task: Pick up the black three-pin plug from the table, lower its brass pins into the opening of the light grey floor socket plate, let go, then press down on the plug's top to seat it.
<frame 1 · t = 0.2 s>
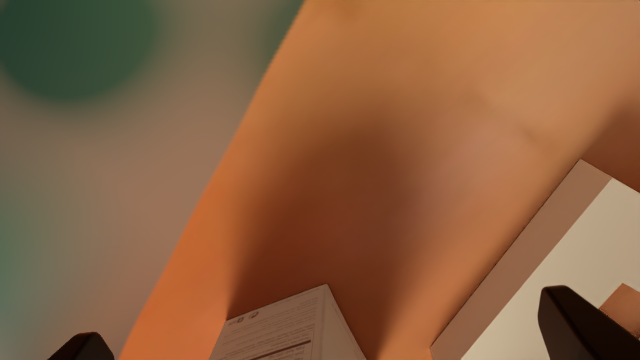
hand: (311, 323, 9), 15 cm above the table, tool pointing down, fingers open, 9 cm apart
socket: (598, 315, 26), on the table
supplement box: (300, 342, 28), on the table
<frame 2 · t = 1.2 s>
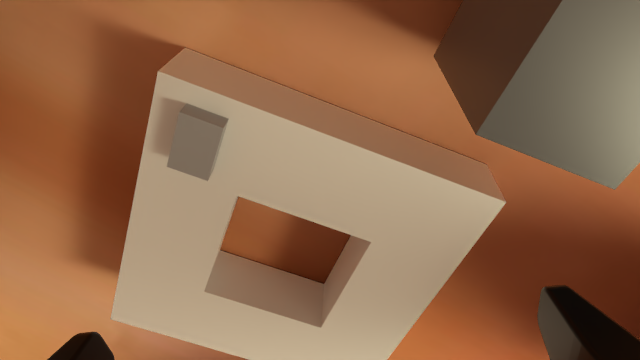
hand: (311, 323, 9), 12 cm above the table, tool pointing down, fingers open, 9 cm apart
socket: (290, 227, 23), on the table
plug: (504, 8, 17), on the table
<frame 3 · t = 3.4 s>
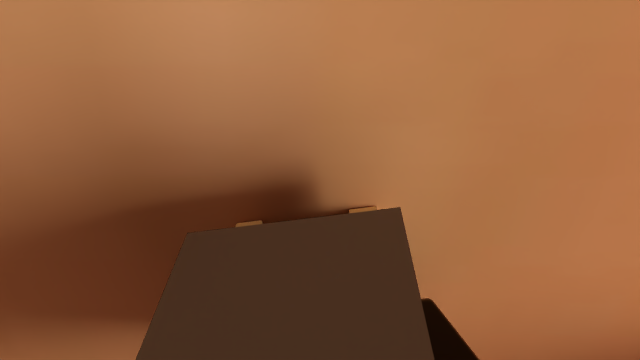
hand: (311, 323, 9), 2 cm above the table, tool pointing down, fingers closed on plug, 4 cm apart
plug: (314, 254, 11), on the table, touching gripper
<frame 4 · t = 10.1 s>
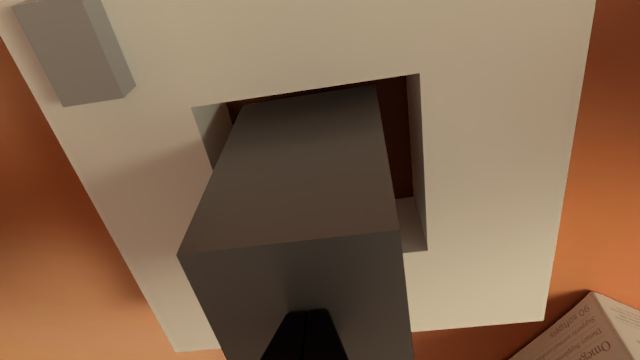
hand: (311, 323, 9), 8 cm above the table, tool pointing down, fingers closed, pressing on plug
socket: (322, 137, 16), on the table
plug: (322, 137, 16), resting in socket, touching gripper
supplement box: (586, 352, 22), on the table
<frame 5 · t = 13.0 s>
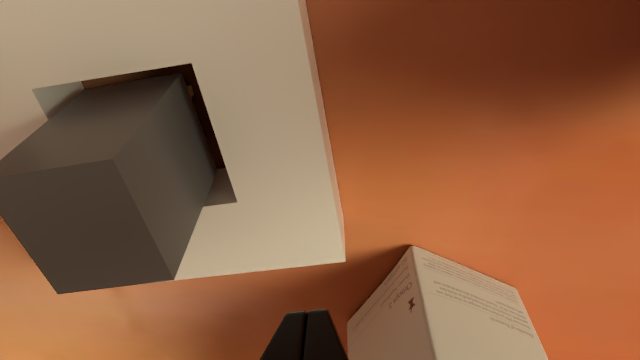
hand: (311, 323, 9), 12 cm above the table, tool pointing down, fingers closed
socket: (165, 116, 20), on the table
plug: (165, 116, 20), resting in socket
supplement box: (426, 301, 26), on the table
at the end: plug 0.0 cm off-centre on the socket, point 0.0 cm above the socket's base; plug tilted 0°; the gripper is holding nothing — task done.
